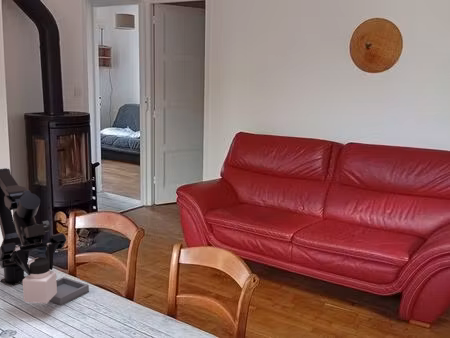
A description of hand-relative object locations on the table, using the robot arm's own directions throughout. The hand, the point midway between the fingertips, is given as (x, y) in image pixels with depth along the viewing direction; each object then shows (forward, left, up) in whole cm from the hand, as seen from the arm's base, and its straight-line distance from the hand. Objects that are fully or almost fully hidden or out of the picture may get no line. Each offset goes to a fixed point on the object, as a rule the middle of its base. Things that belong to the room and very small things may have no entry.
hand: (40, 272), depth 146 cm
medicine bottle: (-1, +1, -9) cm, 9 cm away
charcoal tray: (-5, +12, -13) cm, 19 cm away
